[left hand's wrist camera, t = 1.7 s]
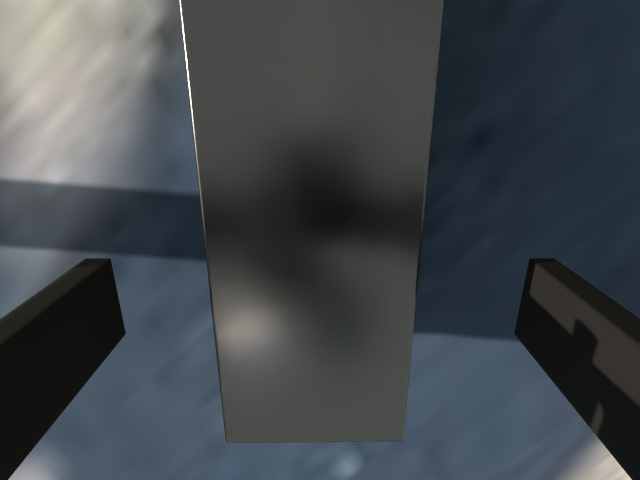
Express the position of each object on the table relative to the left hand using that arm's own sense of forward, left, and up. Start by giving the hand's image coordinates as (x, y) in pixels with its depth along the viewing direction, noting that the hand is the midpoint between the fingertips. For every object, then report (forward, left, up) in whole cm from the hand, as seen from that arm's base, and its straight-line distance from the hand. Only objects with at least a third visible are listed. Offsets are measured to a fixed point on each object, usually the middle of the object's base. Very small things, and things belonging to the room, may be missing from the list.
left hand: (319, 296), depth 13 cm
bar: (+7, +8, -7) cm, 13 cm away
